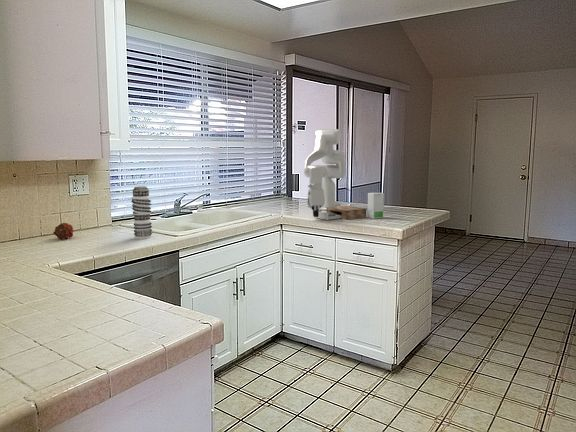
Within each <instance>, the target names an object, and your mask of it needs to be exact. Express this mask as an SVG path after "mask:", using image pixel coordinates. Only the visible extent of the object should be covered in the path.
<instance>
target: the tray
mask: <svg viewBox="0 0 576 432" xmlns="http://www.w3.org/2000/svg"><path fill="white" fill-rule="evenodd" d="M314 218H316V219H321V220H324V221H329V220H337V219H342V215H337V214H335V216H329V217H328V213H325V212H323V211H321V212H319V215H318V217H314Z"/></svg>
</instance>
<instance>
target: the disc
mask: <svg viewBox="0 0 576 432" xmlns="http://www.w3.org/2000/svg"><path fill="white" fill-rule="evenodd" d="M324 213H328V217H329V216H335V213H333V212H327V211H326V212H324Z"/></svg>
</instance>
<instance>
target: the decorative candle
mask: <svg viewBox="0 0 576 432" xmlns="http://www.w3.org/2000/svg"><path fill="white" fill-rule="evenodd" d="M149 191H150V188H148V187H147V186H140V185H139V186H134V187H133V189H132V198H131V201H130V202H131V203H132V205H131V206H132V207H131V209H132V210H133V211H132V214H133V216H134V217H133V218H134V219H133V226H134V227H133V229H134V230H133V236H134V239H138V240H139V239H142V240H143V239H149V238H152V237H153V229H152V227H153V226H152V224H153V223H152V219H151V214H152V207H151V205H152V203H151V202H152V200H151V199H150V198H151V197H150V192H149Z"/></svg>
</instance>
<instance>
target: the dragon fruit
mask: <svg viewBox="0 0 576 432" xmlns="http://www.w3.org/2000/svg"><path fill="white" fill-rule="evenodd" d="M53 235H54V236H56V237H57V238H58V239H60V240H67V239H68V238H73V236H74V227H73V225H72V224H68V223H67V222H63V223H60V224H58V225H57V226H56V227H55V228H54V231H53Z"/></svg>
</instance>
